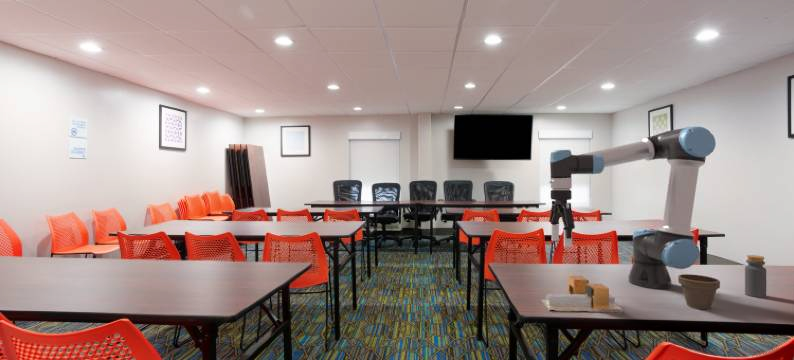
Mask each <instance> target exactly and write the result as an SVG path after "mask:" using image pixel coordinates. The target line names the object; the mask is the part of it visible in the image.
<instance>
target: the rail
mask: <svg viewBox="0 0 794 360" xmlns="http://www.w3.org/2000/svg"><path fill="white" fill-rule="evenodd" d="M586 292H587V294H574V293H546V296H545V299H540V302H542V303H543V304H544V305H545V306H546V307H547V308H548V309H549V310H556V311H555V312H571V311H588V312H587V313H623V308H621V307H619V305H616V304H615V302H616V301H615V299H616V298H615V297H614V296H613V295H611V294H610V288H609V287H607V286H606V285H604V284H603V283H589V284H587V285H586ZM542 303H541V304H542ZM543 304H542V305H543ZM544 305H543V306H544ZM545 306H544V307H545ZM546 307H545V308H546ZM547 308H546V309H547ZM548 309H547V310H548ZM549 310H548V311H549Z"/></svg>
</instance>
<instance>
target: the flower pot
mask: <svg viewBox="0 0 794 360" xmlns="http://www.w3.org/2000/svg"><path fill="white" fill-rule="evenodd" d="M677 279H678V280H677V281H678V283H679V284H680V285H681V289H682V292H683V296H684V299H685V303H686V305H687V306H689V307H691V308H693V309H699V310H710V309H712V307H713V304H714V300H715V296H716V293H717V290H719V289H720V287H721V280H719V279H717V278H715V277H712V276H711V277H710V276H706V275H699V274H691V273H688V274H687V273H685V274H678V276H677Z"/></svg>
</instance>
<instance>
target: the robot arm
mask: <svg viewBox="0 0 794 360" xmlns="http://www.w3.org/2000/svg"><path fill="white" fill-rule="evenodd" d="M716 143H717V142H716V138H715V136H714V134H713V133H712V132H711V131H710V130H709V129H707V128H705V127H702V126H687V127H686V126H685V127H683V128H678V129H672V130H666V131H664V132H660V133H657V134H655V135H652V136H649V137H643V138H642V139H640V140H639V141H637V142H632V143H628V144H623V145H618V146H613V147H609V148H605V149H600V150H594V151H591V152H585V153H582V154H572V151H571V149H554V150H552V151H551V152H550V157H549V164H550V165H549V166H550V169H549V170H550V181H549V184H550V188H551V190H550V199H551V209H550V214H549V221H548V222H549V223H550V224H551V225H550V226H551V241H552V242H554V241H555V242H556V241H557V242H559V241H560V222H559V221H560V218H561V220H562V223H563V247H564V248H573V229H576V226H575V219H574V216H573V211H572V202H568V200H569V201H570V200H572V198H573V196H572V194H573V193H572V185H573V183H572V175H597V174H602V172H603V171H604V170H605V168H608V167H613V166H618V165H621V164H622V165H623V164H626V163H627V164H628V163H632V162H637V161H641V160H645V161H648V162H649V161H653V160H662V159H663V160H664V159H667V160H666V162H667V163H668V164H669V165H670V171H669V177H668V185H667V191H666V199H665V204H664V205H665V207H664V213H663V219H662V226H660V227H658V228H657V229H636V230H635V229H634V231H633V234H632V243H633V244H632V258H633V260H632V262H633V263H632V266H631V269H630V271H629V274H628V282H629V283H631V284H633V285H636V286H639V287H643V288H648V289H649V288H650V289H669V288H672V287H673V286H672V278H671V276H670V274H669V271H668V268H673V269H679V270H684V269H689V268H690V267H692V266H694V265H695V264H696V263H697V262H698V260H699V258H700V253H701V252H700V248H699V246H697V243H695V242H694V239H695V234H694V233H693V232H692V231H691V225H692V220H693V219H692V217H693V211H694V204H695V198H696V190H697V184H698V177H699V170H700V168H701V167H702V166H704V165H705V164H706V158H707V157H708V156H709V155H711V154H712V153H713V152H714V151H715V149H716V145H717V144H716ZM667 267H668V268H667Z"/></svg>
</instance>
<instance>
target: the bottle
mask: <svg viewBox="0 0 794 360" xmlns="http://www.w3.org/2000/svg"><path fill="white" fill-rule="evenodd" d="M746 257H747V259H746V264H748V265H745V267H744V293H745V294H744V295H746V296H748V297H752V298H753V297H754V298H761V299H765V298H767V268H766V267H764V265H766V261H764V259H765V257H764V256H761V255H758V254H756V255H755V254H748V255H746Z"/></svg>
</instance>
